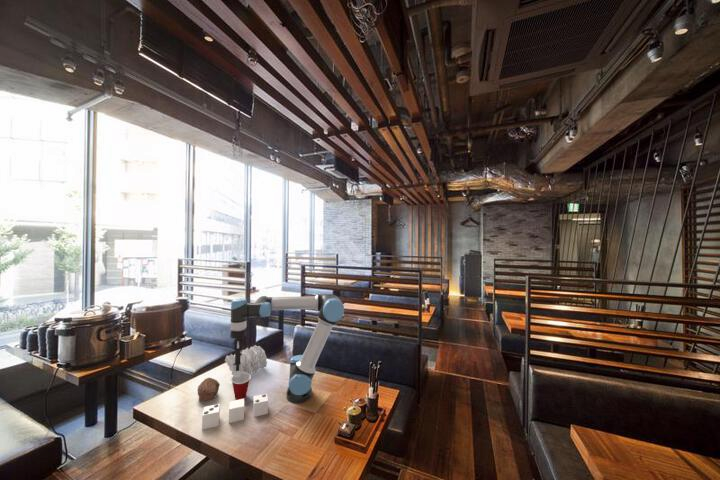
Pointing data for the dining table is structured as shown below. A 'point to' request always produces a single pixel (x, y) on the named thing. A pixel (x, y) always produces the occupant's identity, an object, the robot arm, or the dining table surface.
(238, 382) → the plastic cup
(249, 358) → the white ruffled irregular piece
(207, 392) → the coconut
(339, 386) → the dining table surface
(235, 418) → the blank block
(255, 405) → the block two pips
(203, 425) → the block three pips
